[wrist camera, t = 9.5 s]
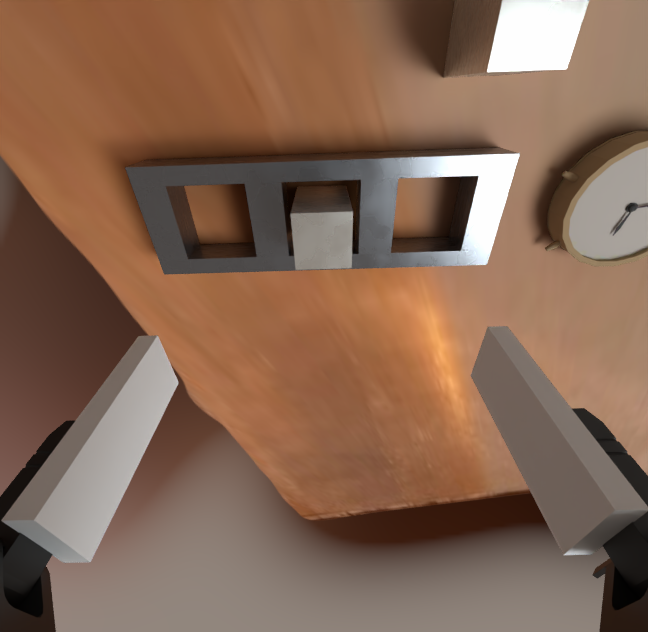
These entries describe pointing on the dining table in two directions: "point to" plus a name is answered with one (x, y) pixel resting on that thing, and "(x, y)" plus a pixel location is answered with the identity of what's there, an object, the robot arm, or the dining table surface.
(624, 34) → the dining table surface
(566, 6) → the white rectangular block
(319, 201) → the grey rectangular block
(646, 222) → the alarm clock
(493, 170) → the grey metal flat frame
